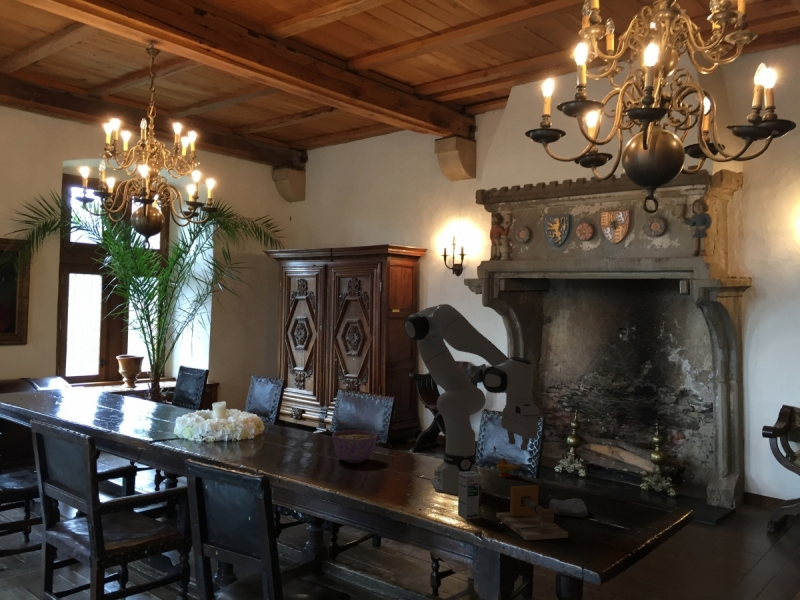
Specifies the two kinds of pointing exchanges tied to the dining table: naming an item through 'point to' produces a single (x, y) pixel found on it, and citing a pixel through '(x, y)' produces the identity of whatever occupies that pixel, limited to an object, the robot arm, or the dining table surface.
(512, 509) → the collar
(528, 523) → the pipe stand
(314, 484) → the dining table surface
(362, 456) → the bowl of food
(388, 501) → the dining table surface
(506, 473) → the magic lamp
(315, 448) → the dining table surface
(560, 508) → the stone block
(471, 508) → the syrup box
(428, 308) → the robot arm
